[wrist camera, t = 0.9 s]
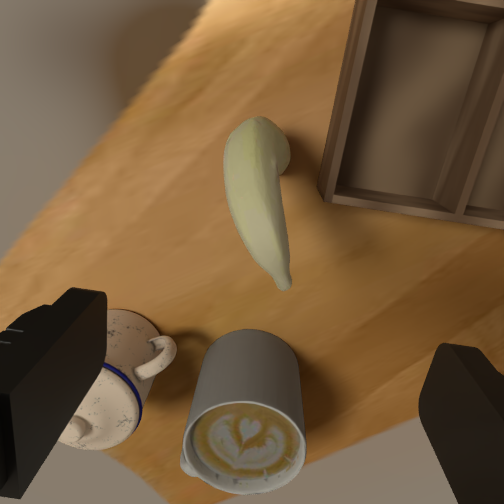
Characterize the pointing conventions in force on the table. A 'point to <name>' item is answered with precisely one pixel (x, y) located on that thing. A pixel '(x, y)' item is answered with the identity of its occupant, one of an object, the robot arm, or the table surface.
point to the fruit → (259, 193)
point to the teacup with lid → (120, 383)
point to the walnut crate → (420, 112)
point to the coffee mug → (246, 415)
